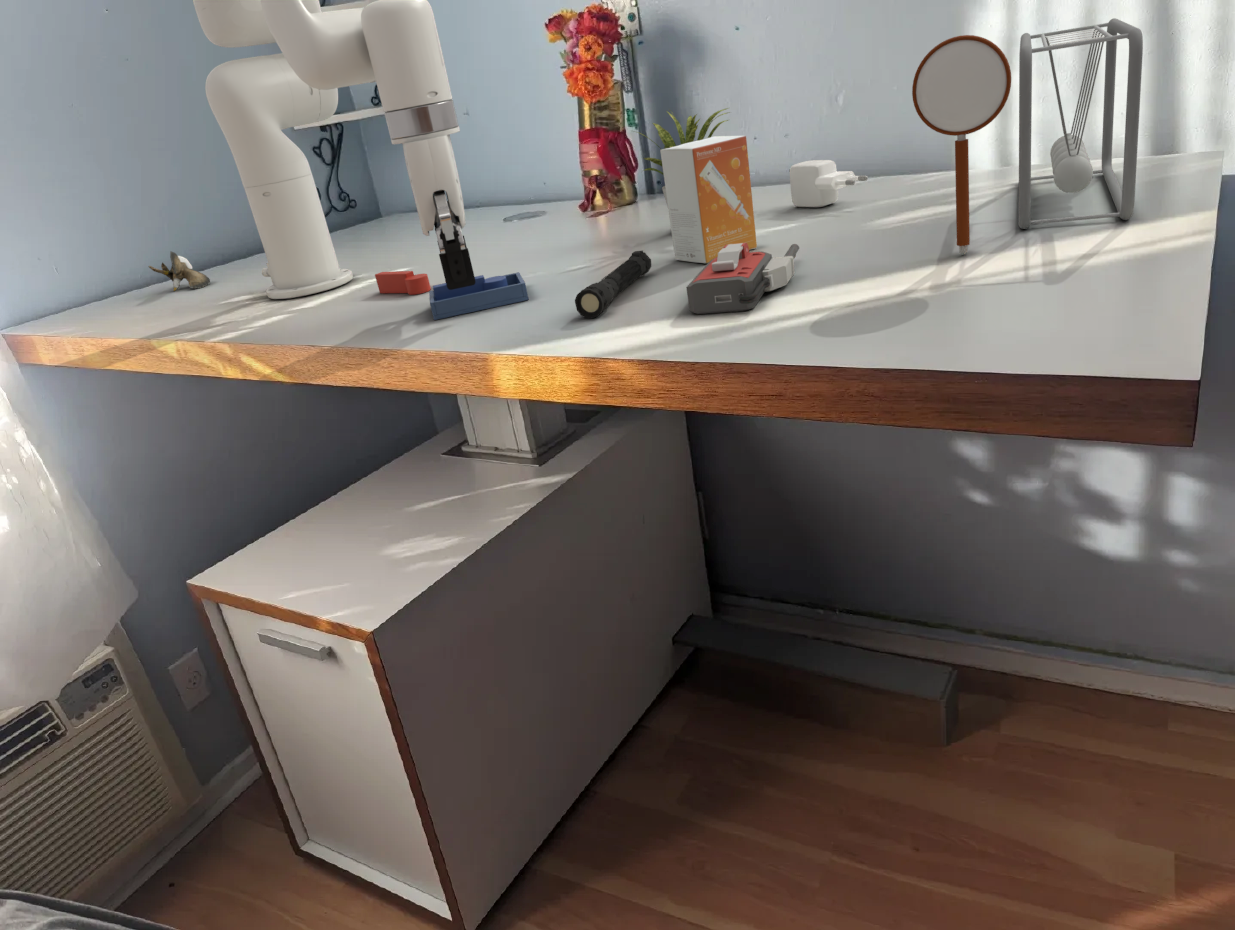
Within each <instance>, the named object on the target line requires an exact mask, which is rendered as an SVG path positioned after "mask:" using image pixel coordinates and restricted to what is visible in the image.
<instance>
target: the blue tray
mask: <svg viewBox="0 0 1235 930" xmlns="http://www.w3.org/2000/svg"><path fill="white" fill-rule="evenodd" d="M502 276H506V279H507V284H508V286H505V287H500V288H495V289H491V290H486V291H481V292H477V293H472V294H467V295H462V296H458V297H453V298H448V299H444V300H439V301H436V298H435V294H434V290H432V289H431V290H430V291H428V294H429V306H430V310H431V314H432V317H433V318H432V319H433V320H434V321H436V320H437V321H438V320H443V319H446V318H451V317H455V316H460V315H464V314H469V313H474V312H479V311H484V310H488V309H493V308H497V307H502V306H507V305H513V304H516V303H521V302H526V301H529V295H528V290H527V285H526V282H525V280H524V278H523V277H522V275H521V273H520V272H517V271H516V272H512V273H507V274H503V275H502Z"/></svg>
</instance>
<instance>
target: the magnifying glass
mask: <svg viewBox="0 0 1235 930" xmlns="http://www.w3.org/2000/svg"><path fill="white" fill-rule="evenodd" d="M1011 87H1012V71H1011V66H1010V64H1009V60H1008V58H1007V56H1006V54H1005V53H1004V52H1003V51H1002V49H1001V48H1000V47H999V46H998V45H997V44H996V43H994V42H993V41H992V40H989V39H987V38H986V37H982V36H979V35H973V34H964V35H957V36H953V37H950V38H948V39H945V40H943V41H941V42H939V43H938V44H937V45H936V46H934V47H933V48H932V49H931V50H929V51H928V52H927V54H926V55H925V56H924V57H923V58H922V59H921V61H920V62H919V65H918V67H917V69H916V71H915V74H914V76H913V80H912V88H911V96H912V102H913V107H914V109H915V112H916V113H917V115H918V117H919V118H920V119H921V121H922V122H923V123H924V125H926V126H927V127H929V128H930V129H931V130H932V131H934V132H936V133H939V134H942V135H946V136H953V137H954V136H956V137H957V138H956V140H954V167H955V170H954V171H955V172H954V173H955V214H956V215H955V219H956V223H955V224H956V247H957V246H958V253H960V254H961V255H962V256H963V255H964V256H965V255H966V254H967V253H968V246H969V245H970V240H971V239H970V235H971V234H970V165H969V163H970V161H969V160H970V159H969V138H967V135H969V134H973V133H976V132H978V131H980V130H982V129H983V128H985V127H987V126H988V125H989V124H991V123H992V122H993V121H994V120H995V119H996V118H997V117H998V115H999V114H1000V113H1001V112H1002V110H1003V109H1004V107H1005V106H1006V103H1007V101H1008V99H1009V96H1010V92H1011Z"/></svg>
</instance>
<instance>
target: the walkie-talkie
mask: <svg viewBox="0 0 1235 930" xmlns="http://www.w3.org/2000/svg"><path fill="white" fill-rule="evenodd" d="M799 249H800V246H799V244H797V243H792V244H791V245H790V246H789V247H788V249H787V251H786V252H785V254H784V255H783V256H775V257H773V255H772V254H771V253H768V252H766V251H761V250H759V251H750V250H749V247H748V244H747V243H739V244H729V245H725V246H724V247H723V249H721V250H720V251H719V253H718V257H716V258H714V259H712V260H711V261H710V262H709V263H706V264H705V266H704V267H703V268H702V269H701V270H700V271H699V273H697V275H696V276H695V277H694V278H693V279H692V280H691V281H690V282H689V283H688V284H687V286H686V295H687V301H688V302H687V303H688V309H689V312H691V313H694V314H696V315H705V314H706V315H707V314H708V315H709V314H718V313H719V314H721V313H731V312H732V313H733V312H744V311H745V312H746V311H748V310H752V309H754V308H755V307H756V306H757V305H758V303H759V301H760V300H761V299H762V297H763V295H764V293H765V292H772V291H774V290H777V289H779V288H782V287H784V286H787V285H788V283H789V282H790V280H791V278H792V277H793V276H794V275H795V274H796V271H795V261H794V260H795V258H796V256H797V253H798V251H800V250H799Z"/></svg>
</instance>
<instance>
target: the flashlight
mask: <svg viewBox="0 0 1235 930" xmlns="http://www.w3.org/2000/svg"><path fill="white" fill-rule="evenodd" d="M651 268H652V259H651V257H649V255H648V254H647V253H646V252H644V250H635V251H633V252H632V253H631V255H630V256H629V257H628V259H627V260H625V261H624V262H623V263H621V264H620V265H619V266H618V267H616V268H615V269H614V270H612V271H611V272H610V273H608V274H607V275H606V276H604V277H603V278H602V279H600V281H599V282H594V283H591V284H590V285H588V286H586V287H585V288H584V289H581V290H580V291H579V292H578V293H577V294H576V296H575V299H574V304H575V309H576V311H577V312H578V314H579V315H580V316H582V317H584V318H586V319H595V318H597V317H598V316H599V315H600V314H602V313H604V311H605V310H606V309H607V308H608V307H609V306H610V305H611V303H612V301H613V299H615V298H616V297H617V296H618V295H620V294H621V293H622V292H624V290H625V289H627V288H628V287H629V286H630V285H632V284H633V283H634V282H635V281H637V280H638V279H640V277H642V276H645V275H646V274H648V273H650V270H651Z"/></svg>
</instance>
